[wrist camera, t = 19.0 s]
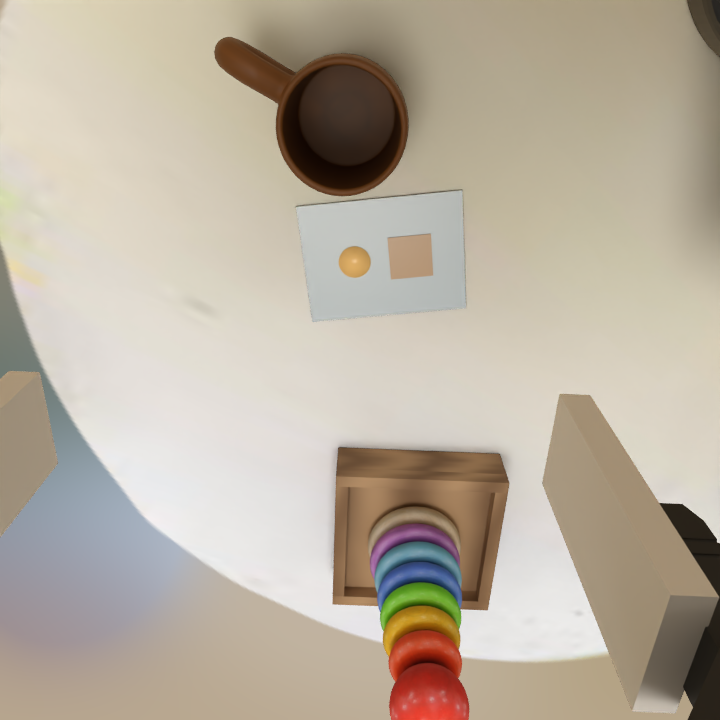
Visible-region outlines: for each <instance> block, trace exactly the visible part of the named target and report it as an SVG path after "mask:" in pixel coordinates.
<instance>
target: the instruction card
mask: <svg viewBox="0 0 720 720" xmlns="http://www.w3.org/2000/svg"><path fill="white" fill-rule="evenodd" d="M296 210H297V217H298V224H299V231H300V238H301V245H302V252H303V259H304V266H305V273H306V280H307V287H308V294H309V301H310V308H311V315H312V322H317V321H328V320H339V319H351V318H362V317H373V316H384V315H395V314H406V313H417V312H429V311H440V310H451V309H462V308H466V290H465V259H464V227H463V195H462V190H456V191H446V192H436V193H426V194H416V195H406V196H396V197H385V198H375V199H365V200H355V201H345V202H335V203H325V204H315V205H305V206H296Z"/></svg>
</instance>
